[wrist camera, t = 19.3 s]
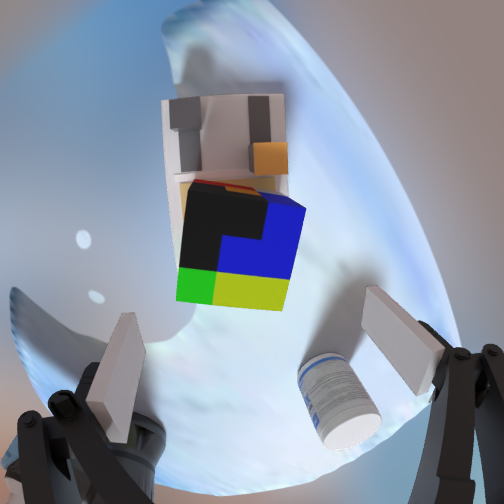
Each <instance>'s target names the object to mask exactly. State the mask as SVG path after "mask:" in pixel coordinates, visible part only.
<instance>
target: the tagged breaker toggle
mask: <svg viewBox="0 0 504 504" xmlns="http://www.w3.org/2000/svg"><path fill="white" fill-rule="evenodd" d="M248 152H249V171H250V172H252V173H254V175H255V176H261V175H284V174H288V154H287V142H264V143H253V144H251V145H248Z"/></svg>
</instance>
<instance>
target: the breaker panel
mask: <svg viewBox="0 0 504 504" xmlns="http://www.w3.org/2000/svg"><path fill="white" fill-rule="evenodd" d="M198 97H200V101H201V115H202V129H201V130H190V131H180V132H174V131H173V130H171V129H170V118H169V100H171V99H169V100H163V101H162V102H161V103H162V126H163V144H164V158H165V171H166V182H167V193H168V203H169V212H170V221H171V229H172V238H173V245H174V252H175V260H176V267H177V273H178V270H179V259H180V250H181V240H182V231H183V223H184V215H185V207H186V200H187V192H188V189H189V187H190V185H191V184H192V182H193V180H194V179H199V180H206V181H214V182H221V183H227V184H234V185H240V186H247V187H253V188H259V189H265V190H271V191H277V192H281V193H282V194H284V195H285V196H287V197H288V186H287V174H284V175H261V176H255V175H254V173H252V172H250V171H249V152H248V145H251V144H253V143H264V142H286V127H285V106H284V94H228V95H211V96H198ZM187 98H189V97H187ZM178 99H180V98H178Z"/></svg>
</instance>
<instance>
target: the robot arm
mask: <svg viewBox="0 0 504 504" xmlns="http://www.w3.org/2000/svg"><path fill="white" fill-rule="evenodd" d="M361 327H362V328H363V329H364V331H365V332H366V333H367V334H368V336H369V337H370V338H371V339H372V341H373V342H374V343H375V344H376V346H377V347H378V348H379V349H380V351H381V352H382V353H383V354H384V356H385V357H386V358H387V359H388V361H389V362H390V363H391V365H392V366H393V367H394V368H395V370H396V371H397V372H398V374H399V375H400V376H401V377H402V379H403V380H404V381H405V383H406V384H407V385H408V387H409V388H410V389H411V390H412V392H413V393H414V394H415V396H418V395H421V394H423V393H425V392H428V390H429V388H430V385H431V383H433V385H434V386H435V389H434V391H433V394H432V396H431V398H430V400H429V402H428V403H431V401H432V405H431V412H430V418H429V424H428V429H427V434H426V439H425V444H424V448H423V453H422V457H421V461H420V465H419V469H418V472H417V476H416V480H415V483H414V486H413V489H412V493H411V496H410V499H409V502H408V504H473V499H474V493H475V481H474V480H471V479H470V473H471V465H472V455H473V443H474V427H475V430H476V435H477V440H478V446H479V451H480V457H481V463H482V470H483V478H484V487H485V498H486V504H504V353H503V351H502V349H501V348H499V347H498V346H497V345H494V344H486V345H485V346H484V347H483V349H482V352H481V353H476V354H471V353H470V351H468V350H467V349H465V348H461V347H456V348H453V347H452V346H451V345H450V344H449V343H448V342H447V341H446V340H445V339H444V338H443V337H441V336H440V335H438V333H437V332H436V331H434V329H433V328H432V327H431V326H429V325H428V324H427V323H425V322H423V321H421V320H419V321H416V320H415V319H414V318H413V317H412V316H411V315H410V314H409V313H408V312H407V311H406V310H404V309H403V308H402V307H401V306H400V305H399V304H398V303H397V302H396V301H394V300H393V299H392V298H391V297H390V296H389V295H388V294H387V293H386V292H384V291H383V290H382V289H381V288H380V287H379V286H378V285H376V286H370V287H366V295H365V302H364V309H363V316H362V322H361ZM145 354H146V351H145V347H144V344H143V341H142V337H141V334H140V330H139V327H138V323H137V319H136V315H135V313H134V312H131V313H122V314H121V316H120V318H119V320H118V323H117V325H116V327H115V330H114V332H113V335H112V336H111V338H110V341H109V343H108V345H107V348H106V350H105V353H104V355H103V357H102V360H101V362H91V363H90V364H89V365H88V366H87V367H86V369H85V370H84V372H83V375H82V378H81V379H80V382H79V384H78V386H77V389H76V391H75V393H73V392H72V391H69V390H61V391H57V392H56V393H54V394H52V396H51V397H50V398H49V400H48V408H49V409H50V411H51V412H52V414H53V415H54V416H53V417H46V418H42V417H41V415H40V414H39V413H38V412H37V411H34V410H32V411H27V412H24V413H23V414H22V415H21V416H20V417H19V419H18V423H17V432H18V434H17V435H16V437H15V438H14V440H13V441H12V443H11V445H10V446H9V448H8V450H7V451H6V453H5V455H4V456H3V458H2V460H1V462H0V464H1V466H2V467H3V468H4V469H5V470H7V472H6V475H5V477H4V480H5V482H6V484H7V486H8V488H9V491H10V493H9V496H8V499H7V503H6V504H154V503H153V497H154V475H155V467H156V465H157V463H158V461H159V459H160V457H161V456H162V454H163V452H164V450H165V446H166V435H165V432H164V431H163V429H162V428H161V427H160V426H159V425H158V424H156V423H155V422H154V421H152V420H150V419H149V418H147V417H145V416H142V415H140V414H137V413H133V407H134V403H135V398H136V393H137V388H138V384H139V379H140V375H141V371H142V366H143V362H144V358H145Z"/></svg>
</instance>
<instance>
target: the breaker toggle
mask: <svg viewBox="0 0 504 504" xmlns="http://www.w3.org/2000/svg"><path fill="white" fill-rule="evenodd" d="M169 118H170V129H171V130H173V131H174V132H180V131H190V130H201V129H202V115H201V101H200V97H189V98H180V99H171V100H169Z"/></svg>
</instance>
